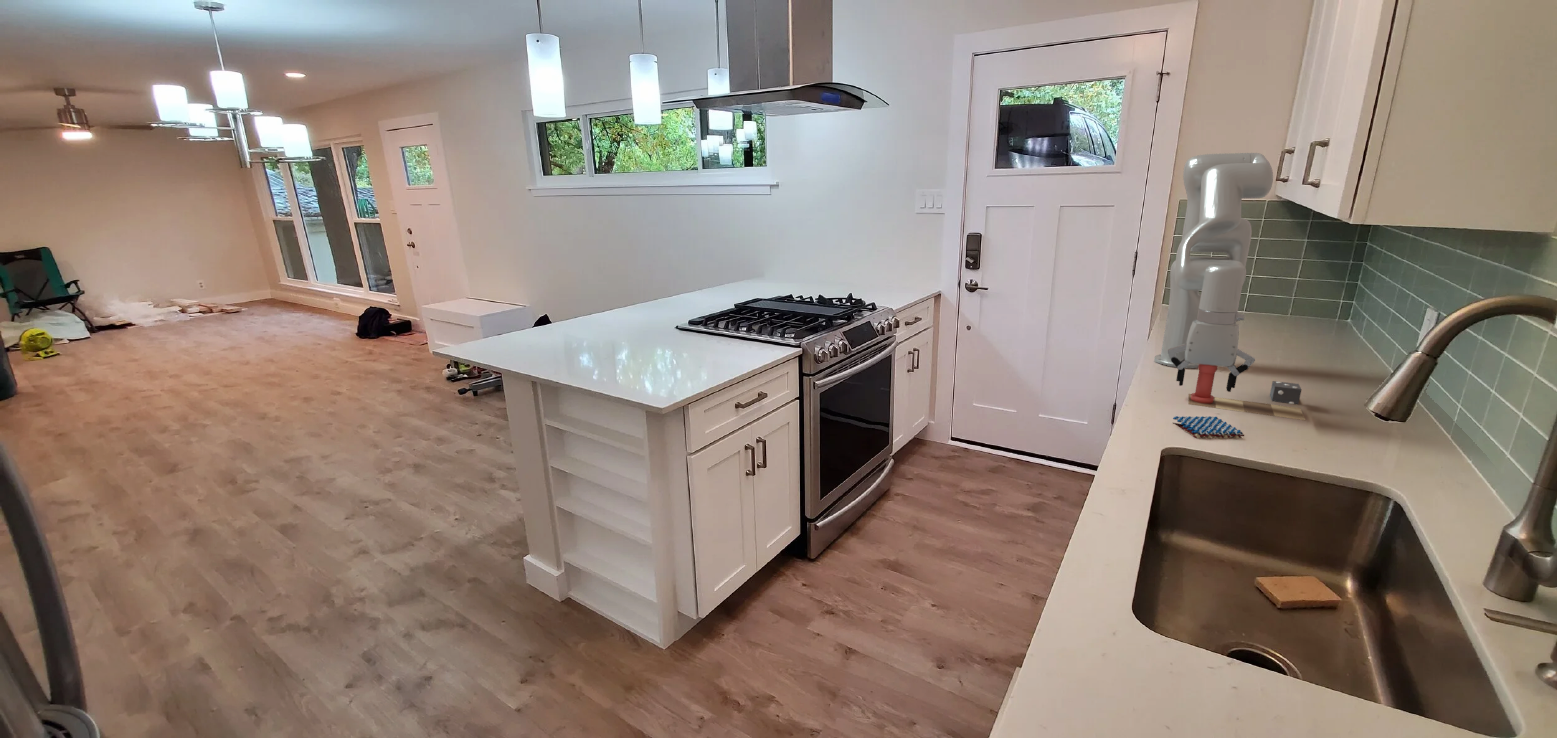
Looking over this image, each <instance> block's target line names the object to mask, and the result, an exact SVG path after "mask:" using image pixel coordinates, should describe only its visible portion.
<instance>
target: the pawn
mask: <svg viewBox="0 0 1557 738" xmlns="http://www.w3.org/2000/svg"><path fill="white" fill-rule="evenodd" d="M1197 369H1198V375H1197V380H1196V386H1195V391H1194V392H1193V393H1190V394H1191V400H1192V401H1194V402H1198V403H1204V404H1210V403H1213V400H1214V397H1215V396H1213V395H1212V392H1213V390H1212V389H1213V386H1214V385H1213V384H1214V381H1215V376H1216V375H1215V374H1216V372H1217V370H1218V366H1211V365H1201V364H1199V366H1198V368H1197Z"/></svg>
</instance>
